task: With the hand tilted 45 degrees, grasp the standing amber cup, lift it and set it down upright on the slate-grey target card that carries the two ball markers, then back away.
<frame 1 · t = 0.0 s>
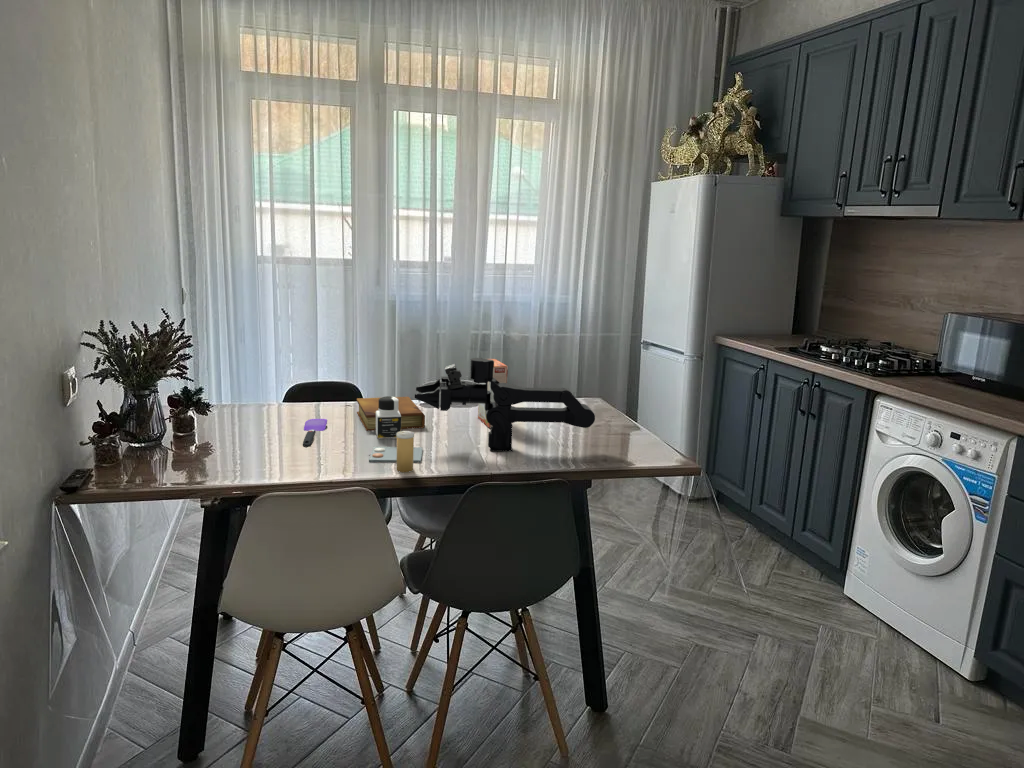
hand: (415, 392, 202), 17 cm above the table, tool horizontal, fingers open, 9 cm apart
medicine bottle: (388, 435, 216), on the table
diary: (389, 422, 234), on the table
amber cup: (404, 469, 186), on the table
spatula: (311, 437, 213), on the table
target card: (396, 455, 197), on the table
cracker box: (491, 423, 236), on the table
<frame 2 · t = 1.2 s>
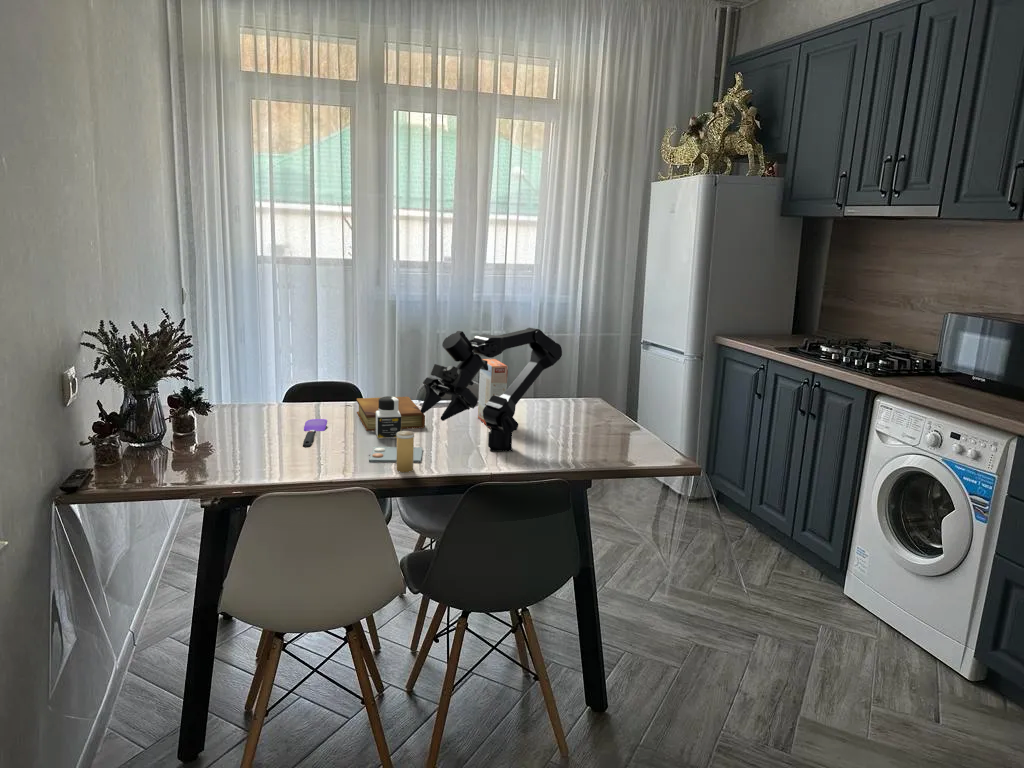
hand: (431, 416, 188), 13 cm above the table, tool tilted 45°, fingers open, 9 cm apart
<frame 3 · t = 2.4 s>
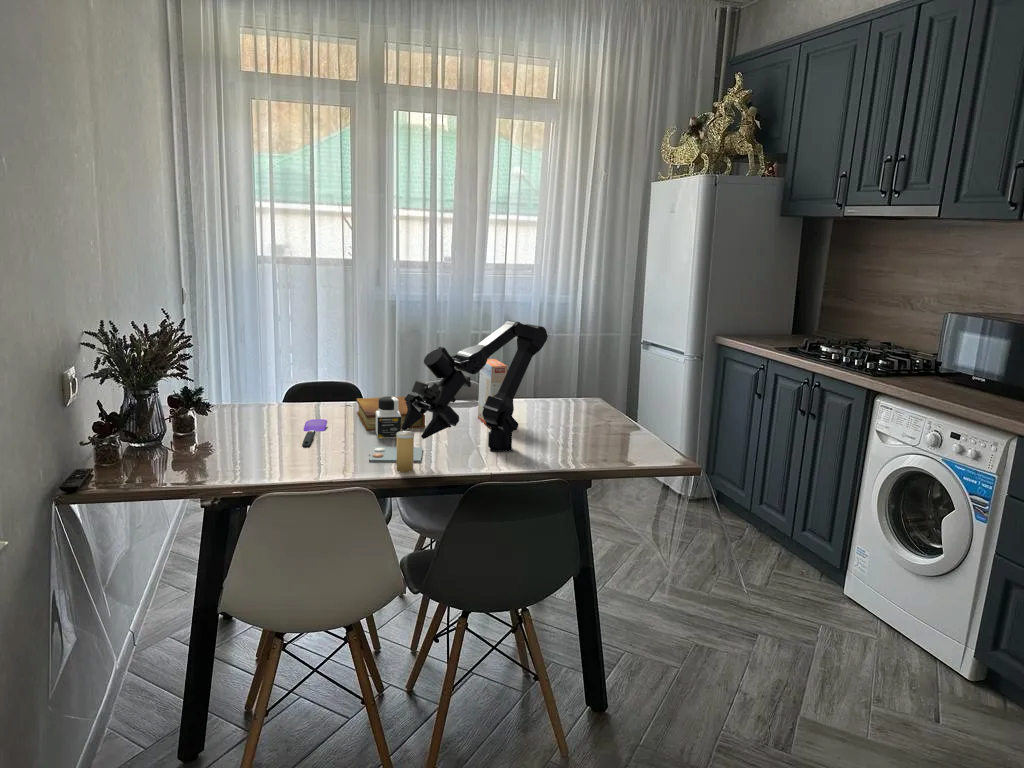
hand: (412, 433, 185), 10 cm above the table, tool tilted 45°, fingers open, 9 cm apart
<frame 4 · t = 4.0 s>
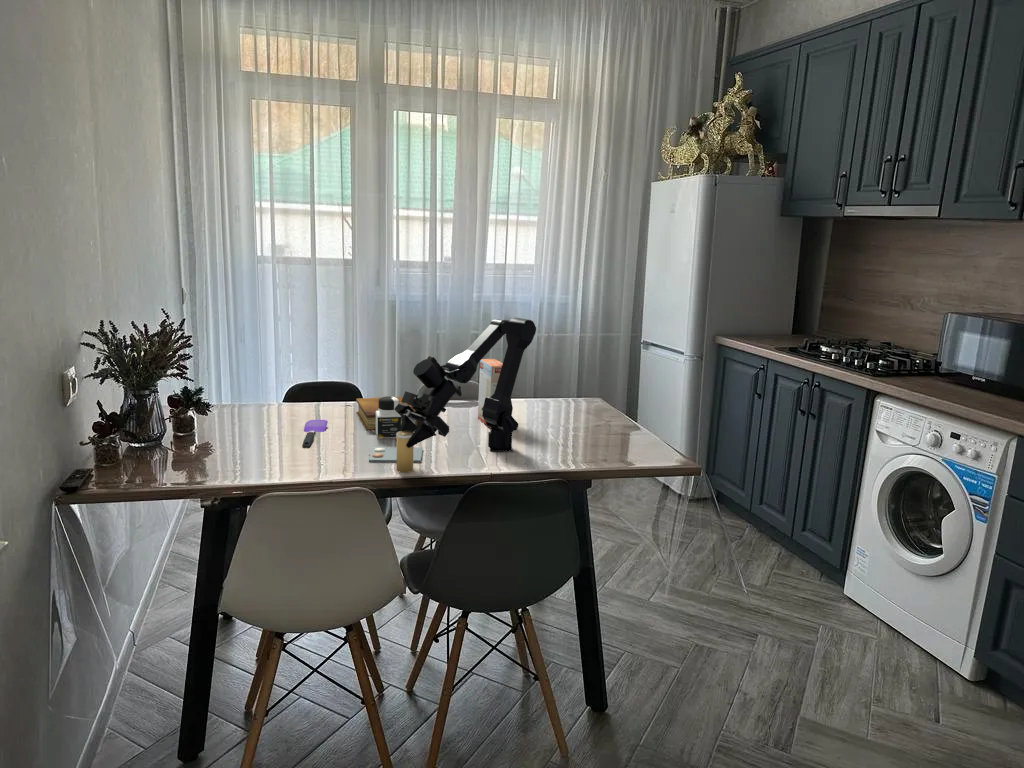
hand: (402, 444, 184), 7 cm above the table, tool tilted 45°, fingers closed on amber cup, 4 cm apart
amber cup: (404, 469, 186), on the table, touching gripper
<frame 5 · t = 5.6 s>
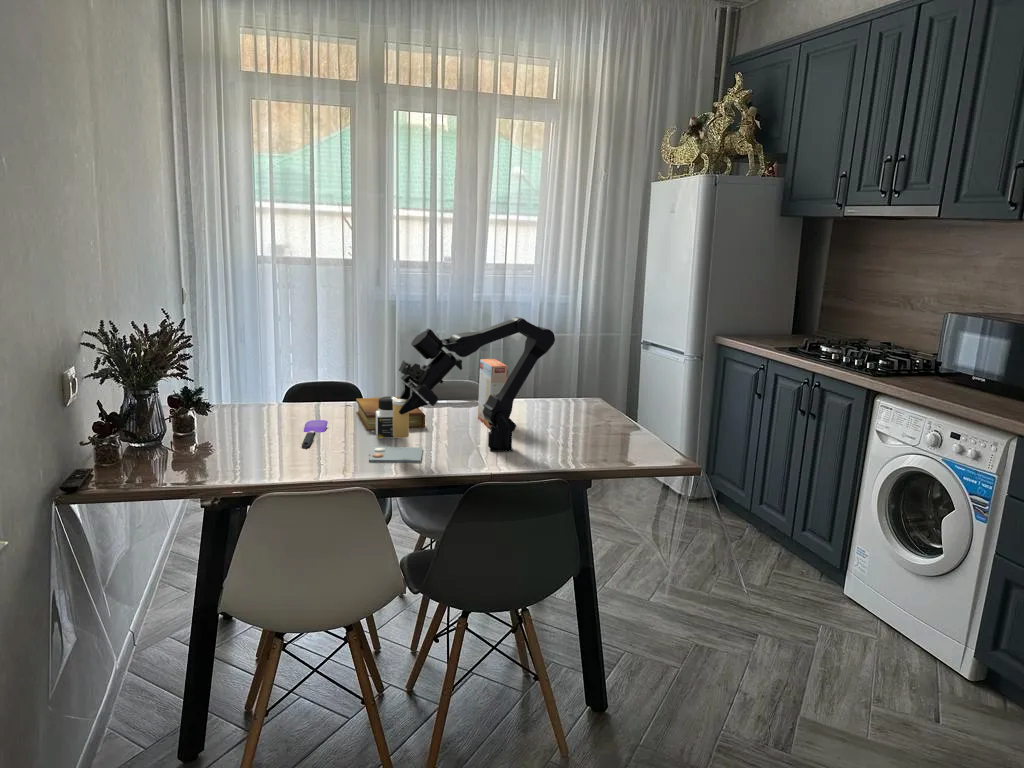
hand: (397, 411, 193), 13 cm above the table, tool tilted 45°, fingers closed on amber cup, 4 cm apart
amber cup: (400, 435, 195), point 6 cm above the table, touching gripper
when the fingers open (8 cm above the table, at t = 7.2 s): amber cup stays where it is, resting on target card.
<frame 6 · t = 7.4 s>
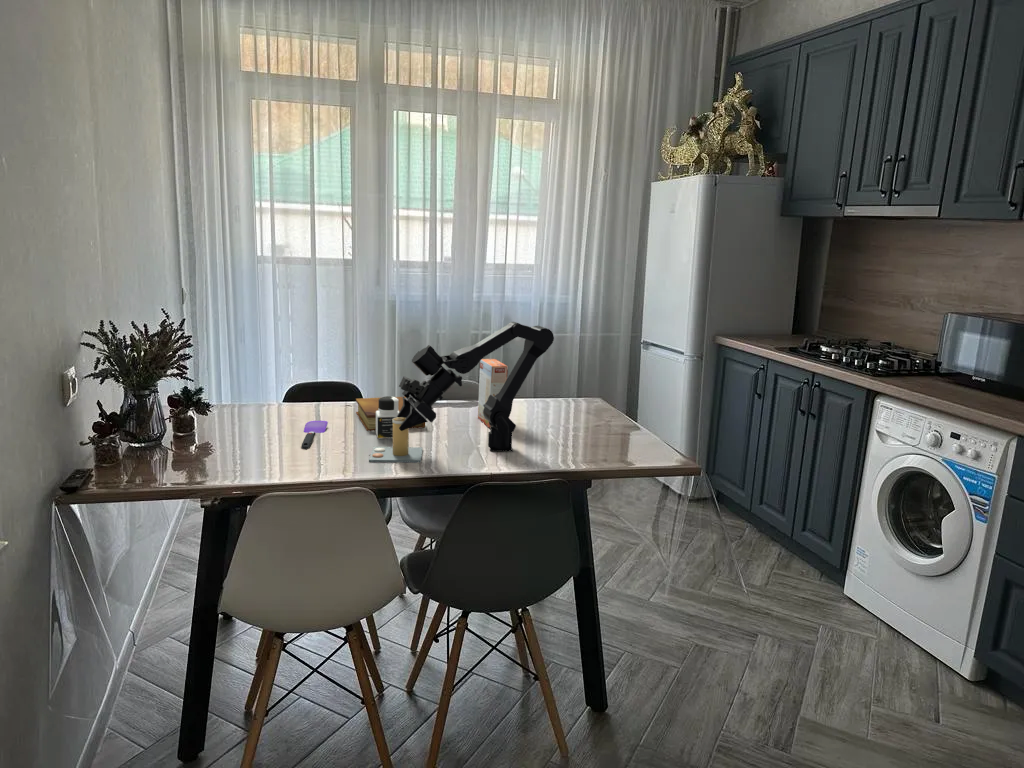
hand: (397, 426, 195), 9 cm above the table, tool tilted 45°, fingers open, 6 cm apart
amber cup: (400, 453, 197), point 1 cm above the table, touching target card
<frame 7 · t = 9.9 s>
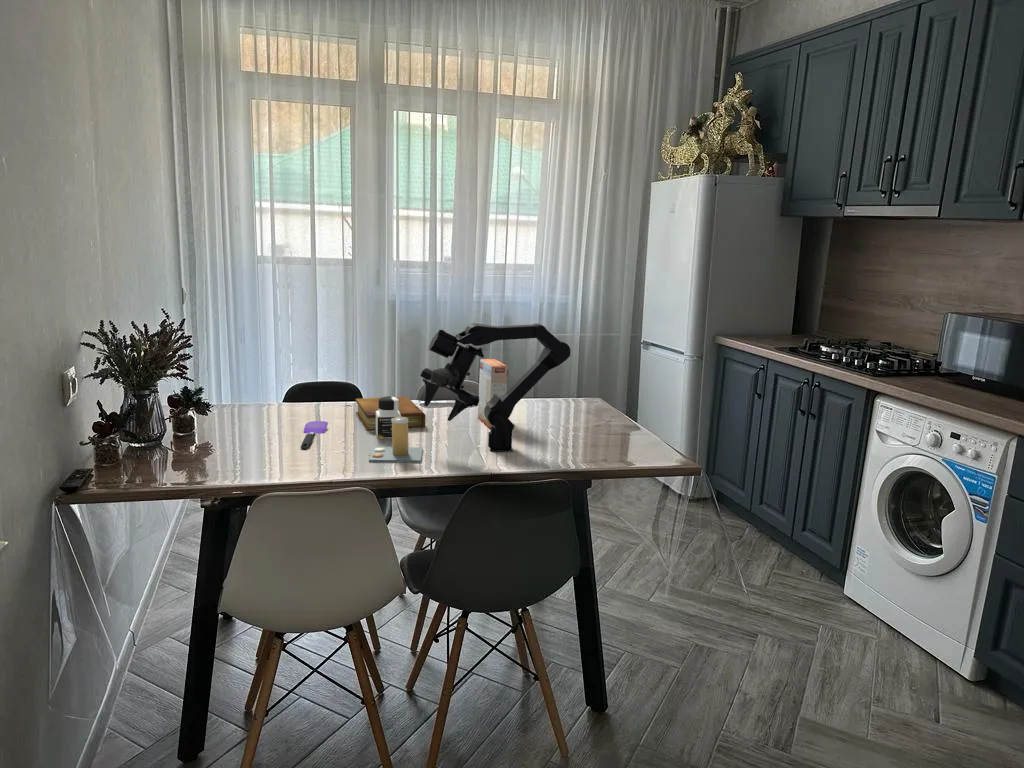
hand: (437, 413, 201), 11 cm above the table, tool tilted 25°, fingers open, 9 cm apart
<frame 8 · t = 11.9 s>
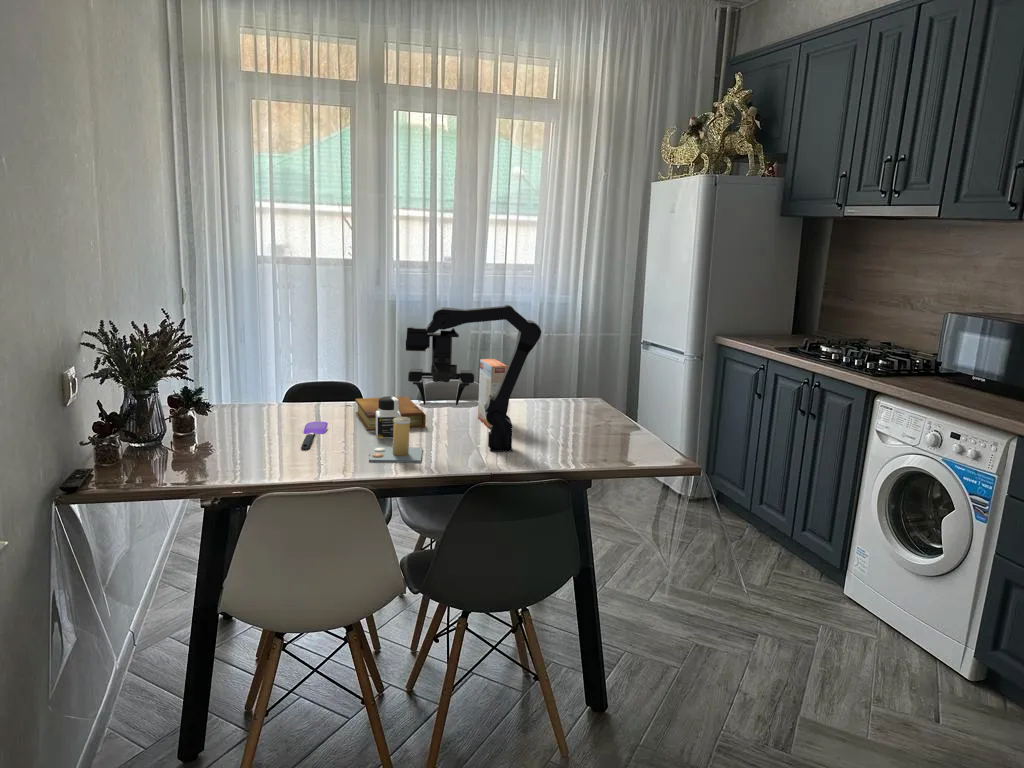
hand: (440, 404, 203), 13 cm above the table, tool pointing down, fingers open, 9 cm apart
at the end: amber cup inside the target area on the target card (1.1 cm from its centre), point 0.7 cm above the target card's base; amber cup tilted 2°; the gripper is holding nothing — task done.
